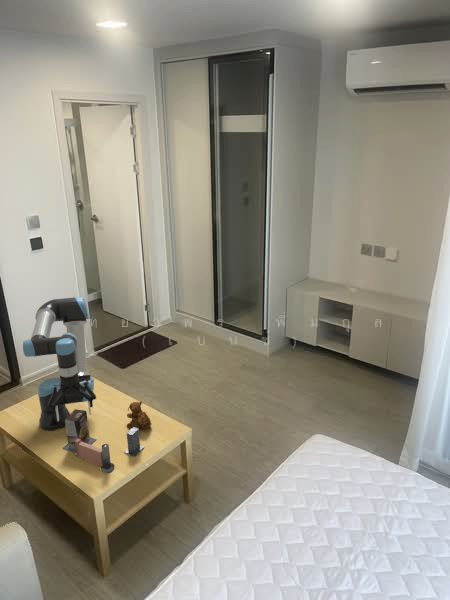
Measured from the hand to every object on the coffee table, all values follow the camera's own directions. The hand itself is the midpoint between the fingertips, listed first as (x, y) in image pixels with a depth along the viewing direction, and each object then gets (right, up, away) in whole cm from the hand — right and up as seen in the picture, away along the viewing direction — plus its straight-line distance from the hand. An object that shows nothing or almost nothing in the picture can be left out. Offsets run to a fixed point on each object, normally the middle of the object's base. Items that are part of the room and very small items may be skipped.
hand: (74, 416), depth 200 cm
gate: (+6, -20, +2) cm, 21 cm away
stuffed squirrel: (+24, -12, +28) cm, 39 cm away
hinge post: (+15, -23, -1) cm, 27 cm away
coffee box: (-2, -17, +14) cm, 22 cm away
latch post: (+25, -19, +10) cm, 33 cm away
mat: (-2, -17, +14) cm, 22 cm away
